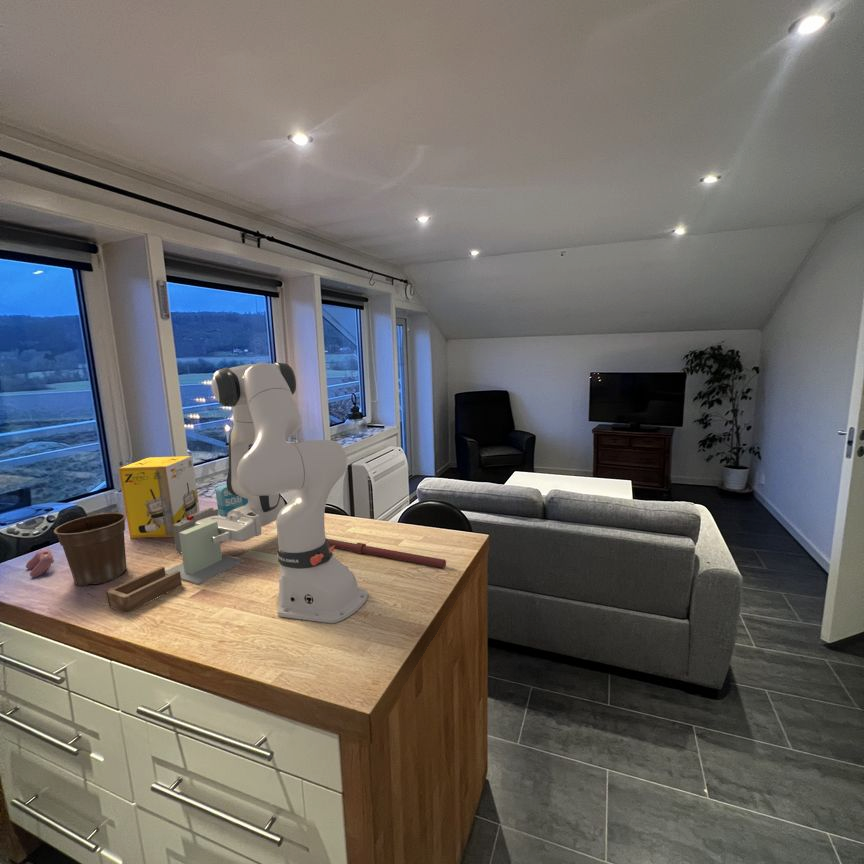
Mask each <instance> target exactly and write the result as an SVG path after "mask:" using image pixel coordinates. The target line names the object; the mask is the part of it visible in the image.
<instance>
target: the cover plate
mask: <svg viewBox="0 0 864 864" xmlns="http://www.w3.org/2000/svg"><path fill="white" fill-rule="evenodd" d="M215 535H219V532H218V524H217V521H212V520H210V521H207V522H205V523H202V524H200V525H197V526H194V527H192V528H189V529H187V530H184V531H182V532H179V537H180V544H181V551H182V553H181V555H182V556H181V557H182V563H183V565H184V572H185V573H187V574H191V575H192V574H194V573H196V572H198V571H200V570H202V569H204V568H206V567H208V566H210V565H212V564H214V563H216V562H218V561H220V560H222V555H223V554H222V547H221V541H220V542H218V543H212V542H211V537H213V536H215Z"/></svg>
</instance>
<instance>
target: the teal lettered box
mask: <svg viewBox="0 0 864 864" xmlns="http://www.w3.org/2000/svg"><path fill="white" fill-rule="evenodd" d="M215 498H216V505H217V509H218V515H219V516H223V517H227V515H228V513H229V512H230V511H231V510H234V509H236V508H239V507H241V506H244V505H246V504H247V503H248V499H245V498H243V497H239V496H235V495H232V494H231V493H230V492H229V491H228V489H227V484H222V485H218V486H217V487H216V488H215Z"/></svg>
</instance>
